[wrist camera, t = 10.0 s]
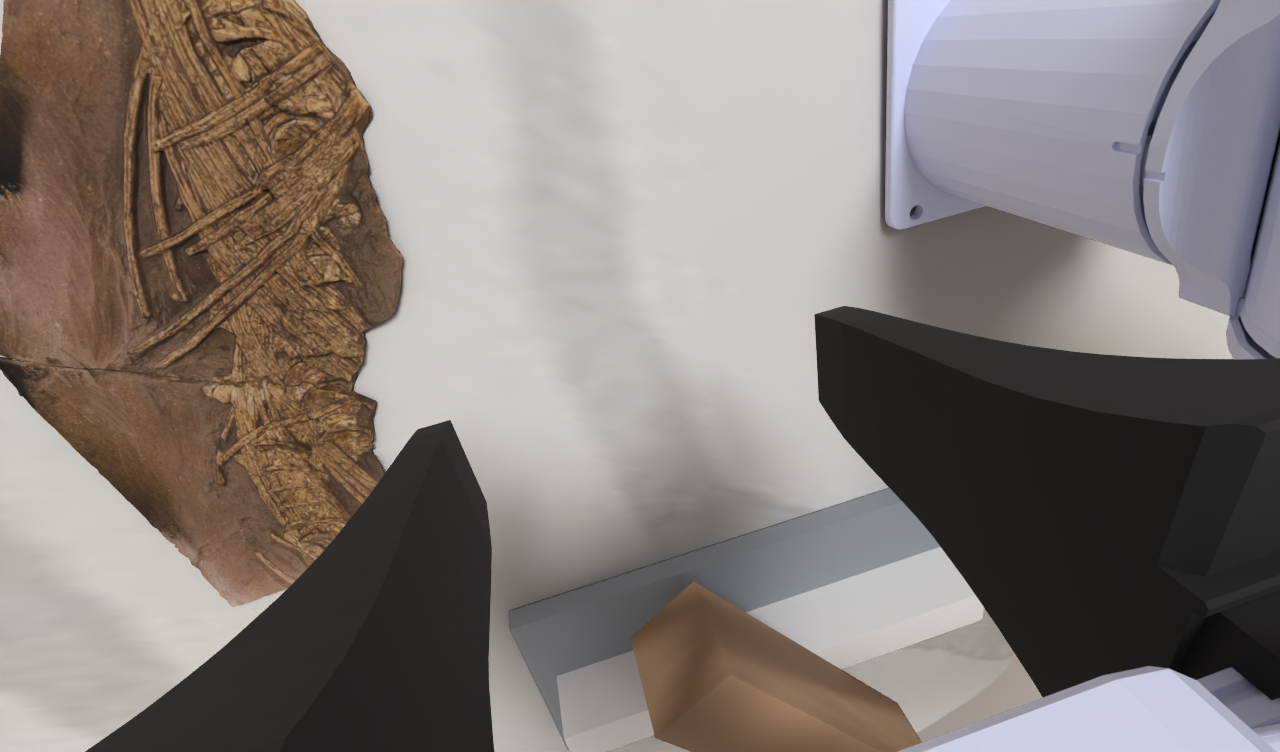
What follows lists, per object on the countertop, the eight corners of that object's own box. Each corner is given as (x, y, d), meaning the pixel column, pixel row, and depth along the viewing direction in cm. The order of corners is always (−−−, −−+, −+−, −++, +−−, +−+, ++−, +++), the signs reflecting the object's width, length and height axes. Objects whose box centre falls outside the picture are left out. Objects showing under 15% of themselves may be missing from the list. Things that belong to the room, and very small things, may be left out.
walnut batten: (693, 581, 23) (730, 675, 20) (897, 702, 31) (949, 785, 27) (630, 637, 24) (655, 737, 20) (844, 742, 31) (889, 828, 28)
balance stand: (954, 466, 29) (1016, 523, 26) (941, 601, 34) (992, 663, 31) (508, 611, 27) (513, 693, 24) (566, 731, 32) (576, 813, 29)
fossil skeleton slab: (402, 589, 26) (399, 609, 25) (88, 601, 23) (71, 624, 22) (404, -208, 14) (399, -225, 13) (-221, -392, 11) (-283, -430, 10)
